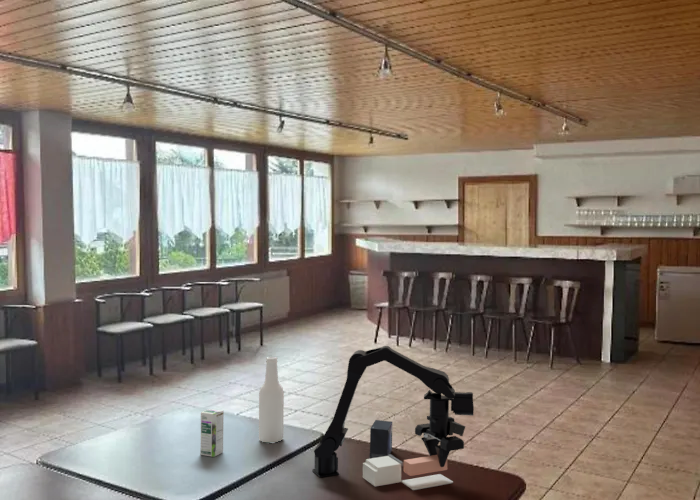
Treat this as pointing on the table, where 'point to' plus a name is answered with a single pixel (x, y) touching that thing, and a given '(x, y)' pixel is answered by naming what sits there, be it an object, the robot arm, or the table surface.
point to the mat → (426, 481)
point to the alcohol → (271, 405)
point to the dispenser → (382, 470)
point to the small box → (380, 439)
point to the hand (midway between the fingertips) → (438, 464)
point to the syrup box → (211, 432)
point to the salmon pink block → (423, 465)
